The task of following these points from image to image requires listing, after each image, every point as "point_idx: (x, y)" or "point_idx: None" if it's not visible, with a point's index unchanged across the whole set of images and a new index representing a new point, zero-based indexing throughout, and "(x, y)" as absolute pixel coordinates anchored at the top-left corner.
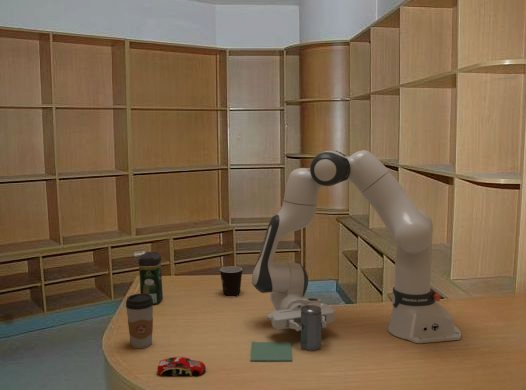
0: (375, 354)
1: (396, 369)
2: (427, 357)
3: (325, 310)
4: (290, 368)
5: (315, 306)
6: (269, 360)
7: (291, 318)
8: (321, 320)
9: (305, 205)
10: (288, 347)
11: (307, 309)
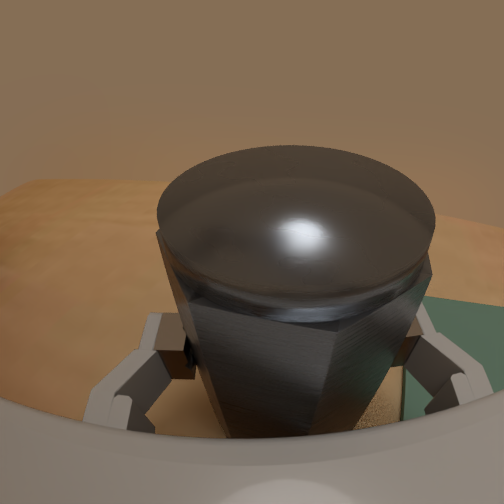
0: (79, 278)
1: (110, 216)
2: (16, 242)
3: (6, 463)
4: None
5: (196, 224)
6: (481, 305)
7: (480, 398)
8: (166, 345)
9: None
10: (418, 401)
11: (349, 182)
